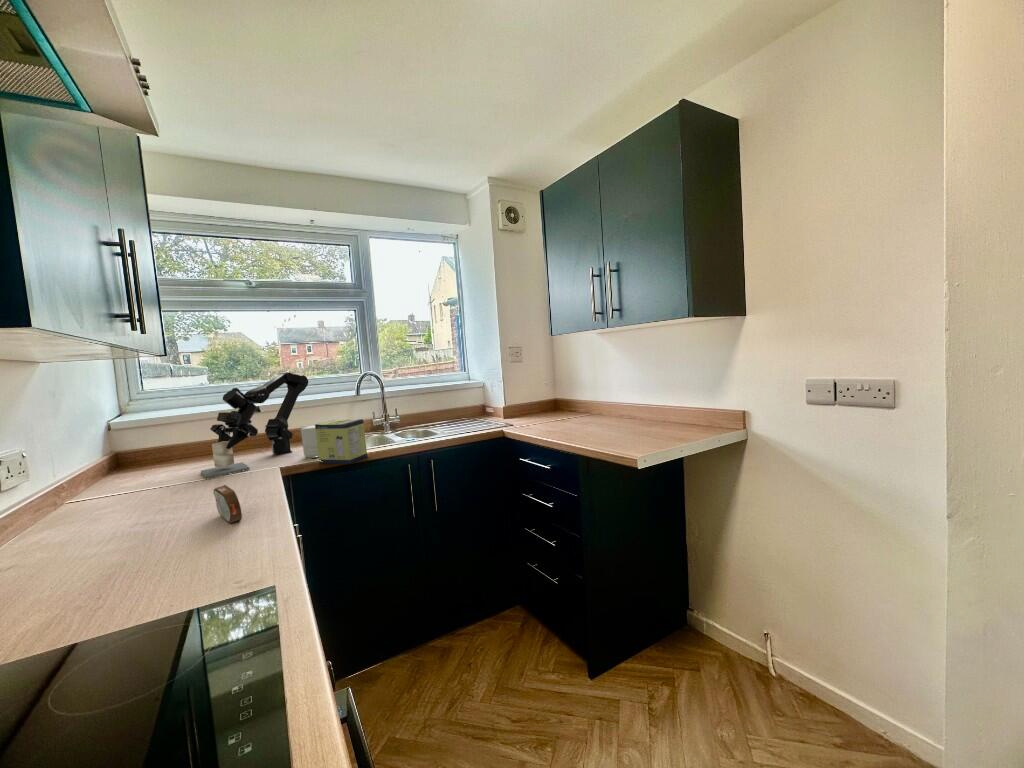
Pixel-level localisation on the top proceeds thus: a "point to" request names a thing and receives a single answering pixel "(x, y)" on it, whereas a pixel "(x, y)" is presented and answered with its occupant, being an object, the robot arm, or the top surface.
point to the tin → (227, 504)
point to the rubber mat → (224, 470)
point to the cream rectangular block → (222, 454)
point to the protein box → (341, 441)
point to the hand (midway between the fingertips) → (222, 448)
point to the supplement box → (309, 441)
